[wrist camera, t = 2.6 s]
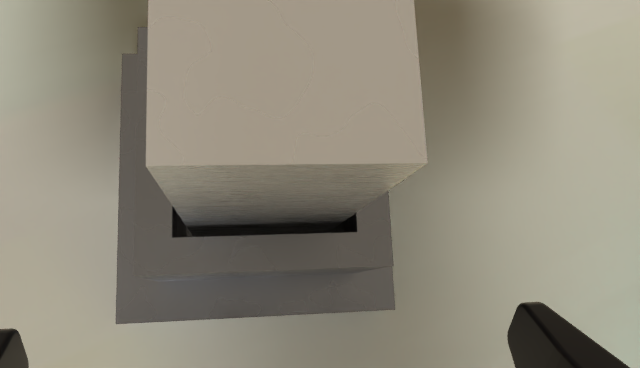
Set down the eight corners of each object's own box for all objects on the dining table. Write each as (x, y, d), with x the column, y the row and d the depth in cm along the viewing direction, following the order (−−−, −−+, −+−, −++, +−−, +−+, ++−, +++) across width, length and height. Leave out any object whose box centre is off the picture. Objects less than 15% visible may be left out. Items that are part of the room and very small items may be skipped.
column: (319, 238, 21) (427, 163, 9) (196, 241, 20) (145, 165, 9) (313, 107, 22) (404, -109, 10) (196, 107, 21) (150, -126, 10)
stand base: (381, 308, 23) (464, 315, 15) (126, 321, 21) (58, 336, 13) (366, 77, 25) (432, -33, 16) (131, 74, 23) (74, -50, 15)
